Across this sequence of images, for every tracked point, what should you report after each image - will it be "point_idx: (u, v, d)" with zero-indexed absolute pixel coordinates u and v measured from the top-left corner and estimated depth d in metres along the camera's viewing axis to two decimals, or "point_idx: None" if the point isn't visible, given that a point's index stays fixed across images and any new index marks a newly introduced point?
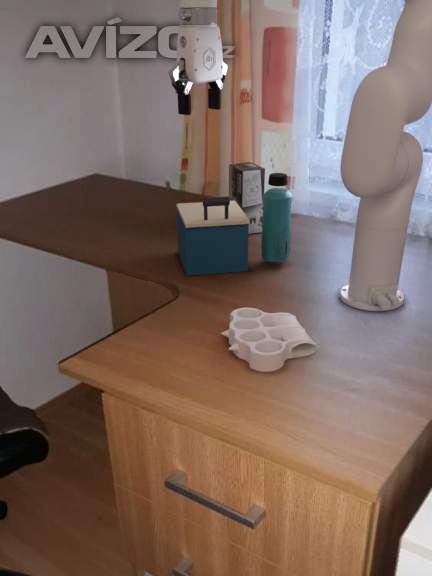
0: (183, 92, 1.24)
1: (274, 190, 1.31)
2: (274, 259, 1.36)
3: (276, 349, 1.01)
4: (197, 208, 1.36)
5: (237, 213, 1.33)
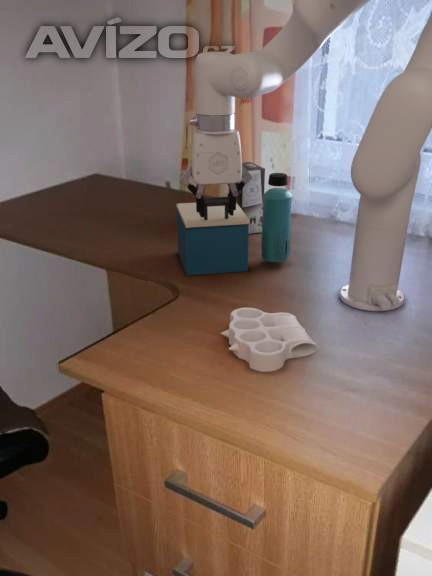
0: (196, 197, 1.26)
1: (274, 190, 1.31)
2: (274, 259, 1.36)
3: (276, 349, 1.01)
4: None
5: (237, 213, 1.33)
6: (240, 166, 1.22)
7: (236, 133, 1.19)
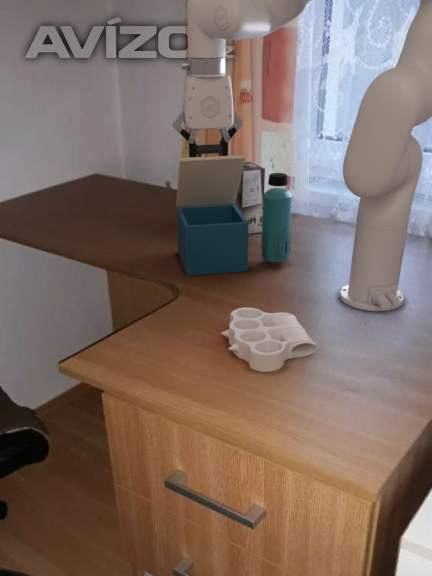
0: (189, 142, 1.28)
1: (274, 190, 1.31)
2: (274, 259, 1.36)
3: (276, 349, 1.01)
4: None
5: None
6: (231, 111, 1.25)
7: (227, 77, 1.22)
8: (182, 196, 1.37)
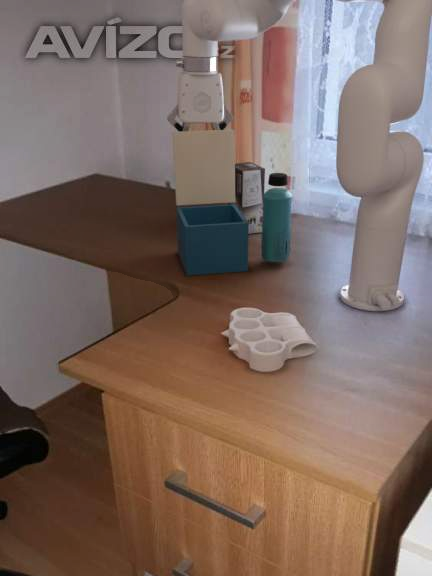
0: None
1: (274, 190, 1.31)
2: (274, 259, 1.36)
3: (276, 349, 1.01)
4: None
5: None
6: (222, 106, 1.34)
7: (218, 75, 1.31)
8: (181, 189, 1.38)
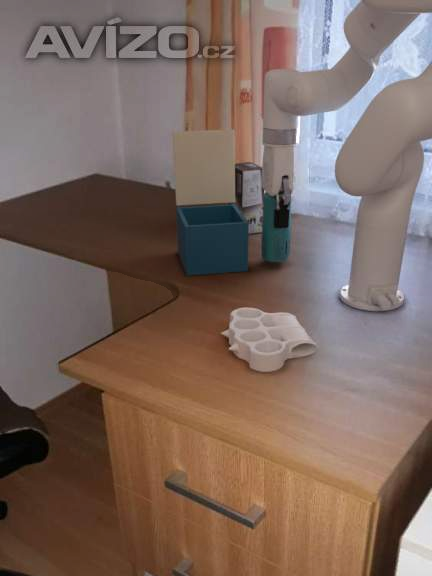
0: None
1: None
2: (274, 259, 1.36)
3: (276, 349, 1.01)
4: None
5: None
6: (272, 181, 1.25)
7: (274, 149, 1.23)
8: (181, 189, 1.38)
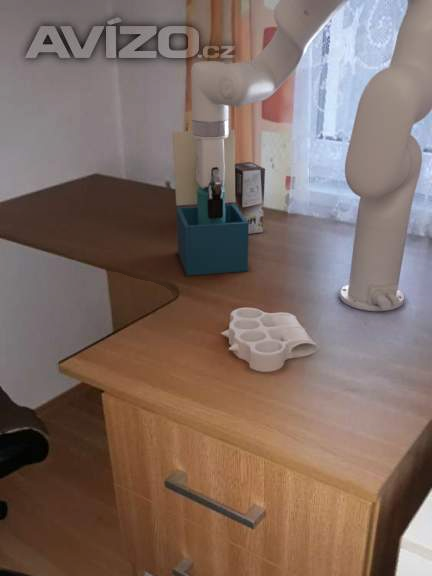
0: None
1: None
2: None
3: (276, 349, 1.01)
4: None
5: None
6: (202, 173, 1.26)
7: (202, 141, 1.23)
8: (181, 189, 1.38)
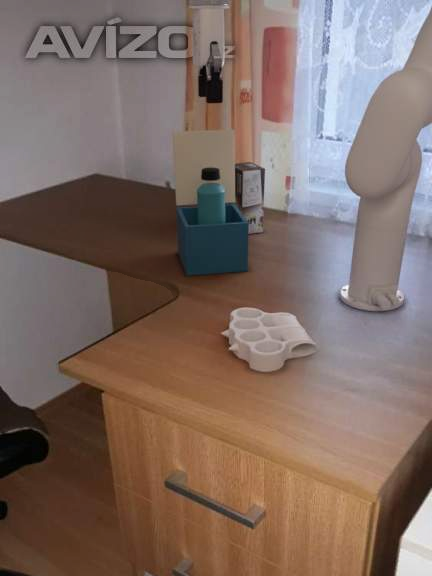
0: None
1: (207, 185, 1.32)
2: None
3: (276, 349, 1.01)
4: None
5: None
6: (200, 49, 1.14)
7: (200, 10, 1.11)
8: (181, 189, 1.38)
